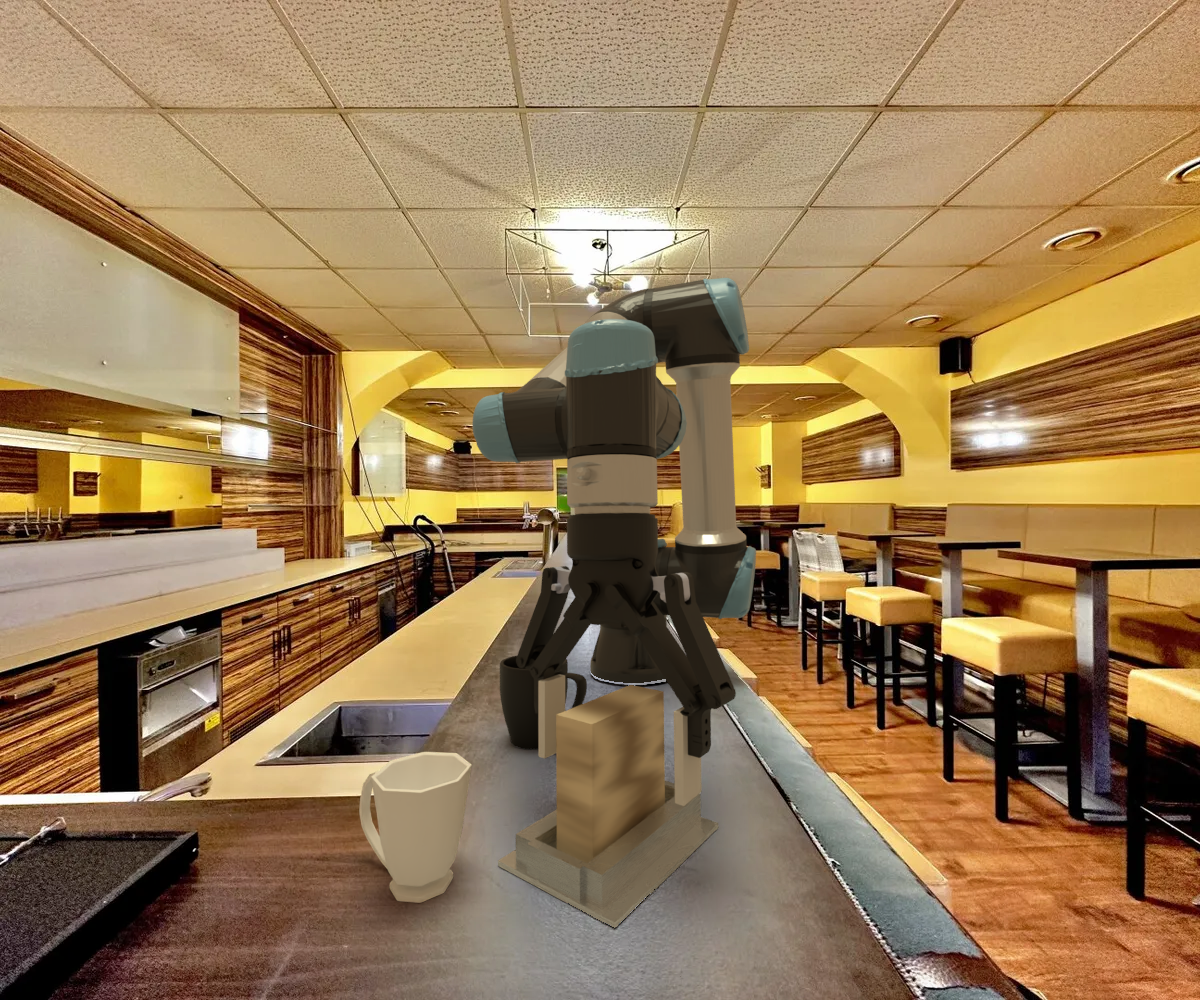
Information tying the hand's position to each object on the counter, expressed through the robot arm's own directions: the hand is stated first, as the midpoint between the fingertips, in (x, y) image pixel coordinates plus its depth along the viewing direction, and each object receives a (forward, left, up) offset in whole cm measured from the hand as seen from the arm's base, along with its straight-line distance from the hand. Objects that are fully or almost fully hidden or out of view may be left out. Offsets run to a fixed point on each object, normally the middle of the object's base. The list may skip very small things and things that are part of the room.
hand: (614, 773), depth 45 cm
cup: (+12, -10, -6) cm, 17 cm away
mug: (-12, -19, -6) cm, 23 cm away
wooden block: (0, 0, -5) cm, 5 cm away
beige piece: (0, 0, -6) cm, 6 cm away
